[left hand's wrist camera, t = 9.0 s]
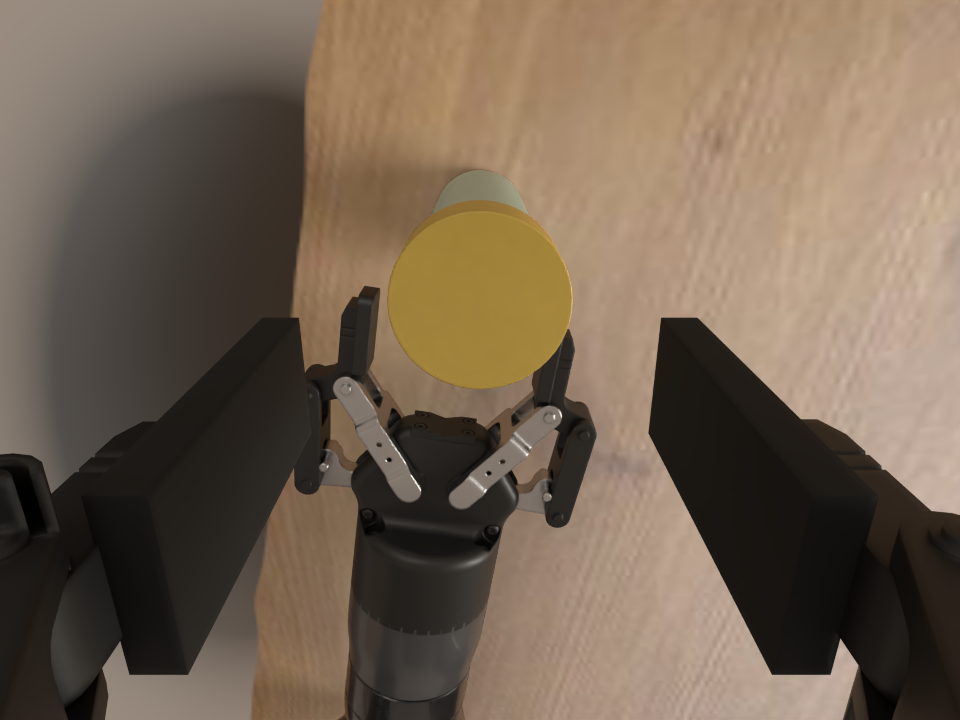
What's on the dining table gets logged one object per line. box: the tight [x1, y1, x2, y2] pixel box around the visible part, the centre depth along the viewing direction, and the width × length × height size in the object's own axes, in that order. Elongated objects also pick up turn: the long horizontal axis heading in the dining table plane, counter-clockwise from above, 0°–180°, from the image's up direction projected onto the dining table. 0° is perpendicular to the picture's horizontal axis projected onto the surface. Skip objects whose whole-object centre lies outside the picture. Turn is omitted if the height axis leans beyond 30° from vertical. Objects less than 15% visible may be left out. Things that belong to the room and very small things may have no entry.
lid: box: [387, 200, 573, 389], centre depth 20 cm, size 5×5×2 cm
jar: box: [432, 170, 528, 214], centre depth 26 cm, size 5×5×16 cm
